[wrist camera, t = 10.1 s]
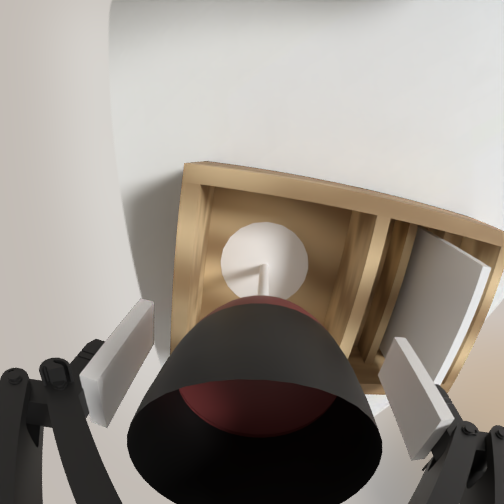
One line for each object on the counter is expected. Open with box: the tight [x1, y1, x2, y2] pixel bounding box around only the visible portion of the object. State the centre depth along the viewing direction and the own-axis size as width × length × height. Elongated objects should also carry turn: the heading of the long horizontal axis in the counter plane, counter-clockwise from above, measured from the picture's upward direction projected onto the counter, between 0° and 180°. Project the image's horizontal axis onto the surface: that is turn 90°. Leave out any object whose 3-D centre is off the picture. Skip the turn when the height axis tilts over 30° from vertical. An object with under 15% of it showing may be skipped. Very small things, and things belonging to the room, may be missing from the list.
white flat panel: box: [379, 226, 491, 385], centre depth 22 cm, size 12×1×11 cm, turn 171°
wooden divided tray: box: [170, 161, 504, 395], centre depth 24 cm, size 16×26×7 cm, turn 81°
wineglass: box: [127, 222, 382, 504], centre depth 17 cm, size 8×9×20 cm
